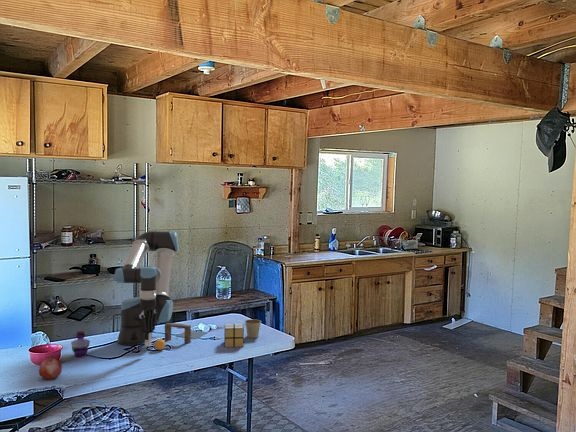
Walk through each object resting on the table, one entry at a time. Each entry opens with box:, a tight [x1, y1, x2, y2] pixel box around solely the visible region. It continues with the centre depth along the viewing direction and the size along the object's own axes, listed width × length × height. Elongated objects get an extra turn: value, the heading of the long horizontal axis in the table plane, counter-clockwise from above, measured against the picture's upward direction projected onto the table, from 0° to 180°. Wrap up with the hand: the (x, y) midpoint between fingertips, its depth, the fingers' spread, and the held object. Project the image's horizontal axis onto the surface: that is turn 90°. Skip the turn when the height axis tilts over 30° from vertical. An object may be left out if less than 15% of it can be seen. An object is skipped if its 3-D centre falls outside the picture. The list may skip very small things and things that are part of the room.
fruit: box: [38, 355, 63, 381], centre depth 220 cm, size 9×10×10 cm
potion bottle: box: [70, 330, 91, 358], centre depth 249 cm, size 9×9×12 cm
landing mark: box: [176, 330, 208, 340], centre depth 288 cm, size 13×13×1 cm
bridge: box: [164, 322, 192, 345], centre depth 274 cm, size 3×14×9 cm, turn 68°
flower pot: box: [244, 318, 262, 339], centre depth 285 cm, size 9×9×9 cm
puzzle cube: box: [223, 323, 245, 348], centre depth 271 cm, size 10×10×10 cm
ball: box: [153, 338, 166, 351], centre depth 260 cm, size 6×6×6 cm
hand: (148, 345), depth 250 cm, fingers closed
